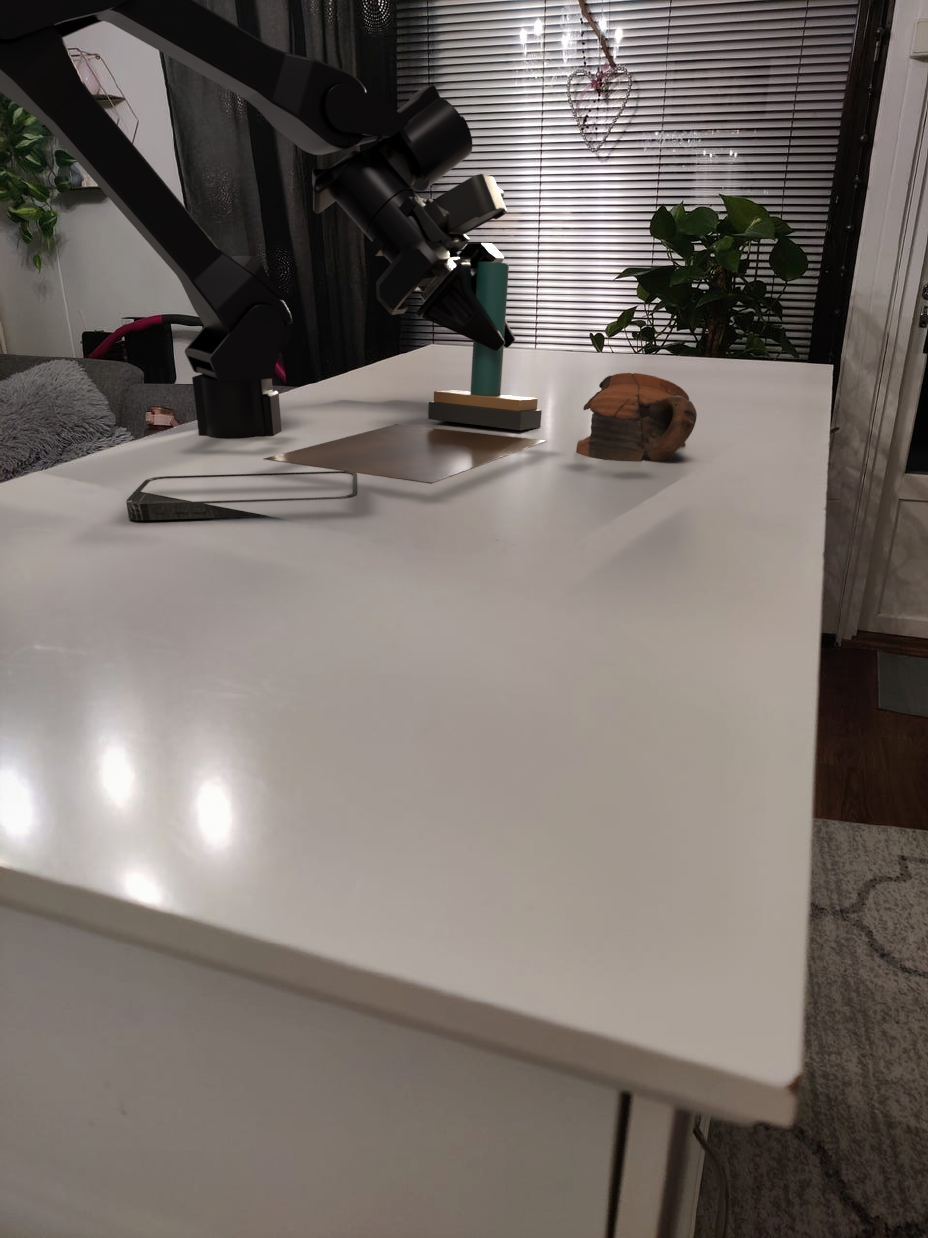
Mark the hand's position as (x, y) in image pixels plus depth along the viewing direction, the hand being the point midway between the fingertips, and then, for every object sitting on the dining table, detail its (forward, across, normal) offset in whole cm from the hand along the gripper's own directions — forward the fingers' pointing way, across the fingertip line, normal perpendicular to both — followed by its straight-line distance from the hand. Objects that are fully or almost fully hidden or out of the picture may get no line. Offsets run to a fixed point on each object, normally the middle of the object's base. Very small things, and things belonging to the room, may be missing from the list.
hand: (506, 345), depth 80 cm
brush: (+4, -1, +6) cm, 7 cm away
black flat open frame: (-1, -29, +13) cm, 31 cm away
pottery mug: (+16, -8, -4) cm, 18 cm away
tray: (+3, -13, +9) cm, 16 cm away
